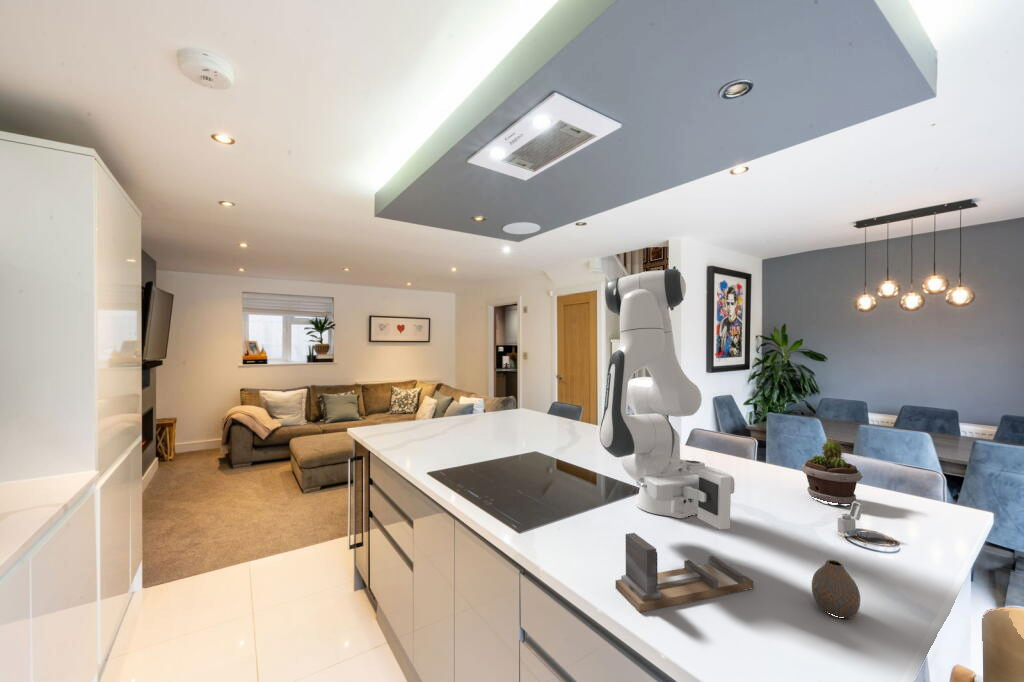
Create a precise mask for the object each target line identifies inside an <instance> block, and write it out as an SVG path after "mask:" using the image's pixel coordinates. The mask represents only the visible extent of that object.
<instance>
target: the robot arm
mask: <svg viewBox="0 0 1024 682" xmlns="http://www.w3.org/2000/svg"><path fill="white" fill-rule="evenodd" d="M686 291H687V284H686V281H685V279H684V277H683V275H682V273H681V271H679V270H678V269H676V268H675V269H674V268H665V269H664V270H663V269H662V270H660V269H659V270H649V271H642V272H640V273H635V274H630V275H626V276H623V277H615V278H613V279H611V280H609V281H608V282H607V283H606V285H605V287H604V295H603V296H604V301H605V304H606V307H607V309H608V310H609V311H610V312H612V314H617V316H619V343H618V346H617V349H616V351H615V352H613V353H612V354H611V355H610V358H609V362H608V366H607V374H606V375H607V377H606V385H605V396H604V407H603V415H602V420H601V423H600V424H601V425H600V427H599V428H600V429H599V441H600V444H601V446H602V447H603V448H604V449H605V450H606V452H607V453H609V454H610V455H612V456H613V457H615V458H621V465H622V467H623V470H624V471H625V472H626V473H627V474H628V476H629V477H631V478H632V479H633V480H634V481H635V483H636V485H637V486H639V491H638V495H637V500H636V502H635V505H636V506H637V507H638V508H639V509H640V510H642V511H644V512H648V513H651V514H655V515H661V516H665V517H666V516H667V517H672V518H677V519H686V518H689V517H688V516H690V517H692V516H691V515H693V516H696V515H695V514H697V515H698V500H699V501H702V502H708V501H710V494H709V493H708V492H706V491H704V490H703V491H700V490H698V474H699V469H710V470H713V471H715V472H718V473H721V474H724V475H727V476H729V477H731V495H733V494H734V493H735V489H736V488H735V485H736V484H735V483H736V482H735V479H734V477H733V476H732V475H731V474H729V473H727V472H724V471H722V470H720V469H716V468H714V467H712V466H706V463H705V462H703V461H698V460H687V459H685V460H684V459H681V438H680V434H679V432H678V431H677V430H676V429H675V428H674V427H673V425H672V424H671V422H670V421H669V419H668V417H667V416H670V417H690V416H693V415H695V414H696V413H697V412H698V411H699V410H700V408H701V405H702V393H701V391H700V389H699V386H697V385H696V383H694V382H693V381H692V380H691V379H690V378H689V377H688V376H687V374H685V372H684V371H683V368H682V367H681V365H680V363H679V361H678V358H677V355H676V349H675V348H676V347H675V344H674V334H673V324H672V322H671V316H670V312H669V309H670V311H674V309H675V307H677V306H679V305H681V303H682V302H683V301H684V300H685V296H686V295H685V294H686ZM644 368H645V369H646V371H647V372H648V373H649V376H640V377H635V378H631V377H632V376H633V375H634V374H635V373H636V372H638V371H640V370H643V369H644ZM627 406H628V407H629V408H630V409H631V410H632V413H633V414H626V412H627V410H626V409H627ZM685 517H686V518H685Z"/></svg>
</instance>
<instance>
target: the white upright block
mask: <svg viewBox="0 0 1024 682" xmlns="http://www.w3.org/2000/svg"><path fill="white" fill-rule="evenodd" d="M698 490H700V491H703V490H704V491H706V492H708V493H709V494H710V501H708V502H702V501H699V500H698V514H697V519H700V520H702V521H703V522H704V523H707V524H709V525H711V526H713V527H715V528H716V529H719V530H726V529H728V530H729V529H731V495H732V494H731V477H729V476H727V475H724V474H721V473H718V472H715V471H713V470H710V469H699V474H698Z"/></svg>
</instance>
